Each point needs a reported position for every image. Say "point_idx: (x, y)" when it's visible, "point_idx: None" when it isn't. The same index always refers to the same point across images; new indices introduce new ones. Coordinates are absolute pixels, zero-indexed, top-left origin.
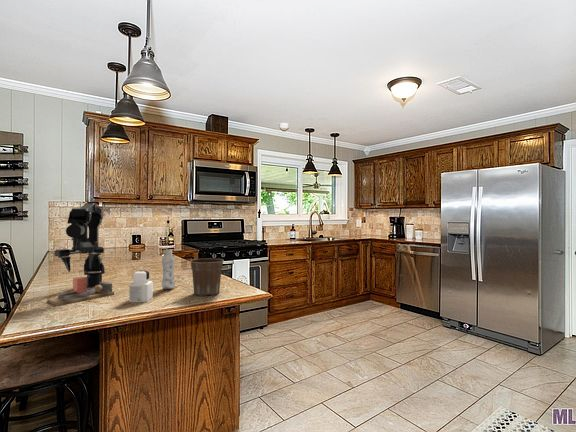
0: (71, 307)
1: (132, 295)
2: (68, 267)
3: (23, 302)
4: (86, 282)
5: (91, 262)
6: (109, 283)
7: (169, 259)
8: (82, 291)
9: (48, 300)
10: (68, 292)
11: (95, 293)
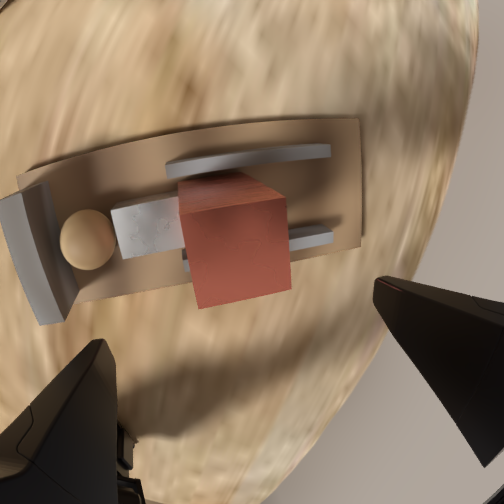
0: (311, 32)
1: None
2: (433, 287)
3: None
4: (180, 202)
5: (80, 410)
6: (8, 217)
7: None
8: (210, 181)
9: (359, 231)
10: None
11: None
